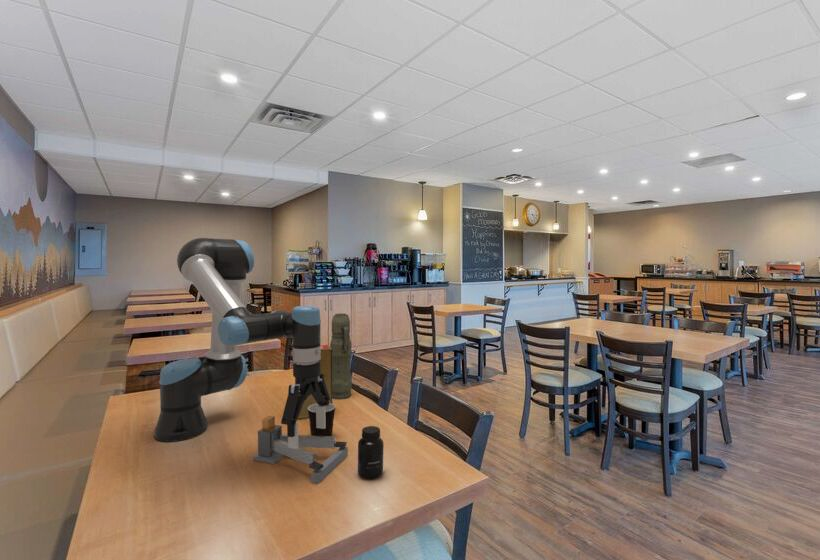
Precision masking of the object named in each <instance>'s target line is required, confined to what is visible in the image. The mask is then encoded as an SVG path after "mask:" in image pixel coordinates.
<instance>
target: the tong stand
mask: <svg viewBox="0 0 820 560" xmlns="http://www.w3.org/2000/svg"><path fill="white" fill-rule="evenodd" d="M271 438H272V456H271V457H267V456H262V455H258V453H256V454H254V455H253V457H252V459H253V461H255V462H256V461H257V462H260V463H261V462H262V463H267V464H271V465H274V464H277V463H278V462H279V461H280V460H281V459H283V458H285V455H283V454H280V453H278V452H275V451H273V434H272V435H271ZM348 448H349V447H348V446H346V447H345V448H339V447H338V449H336V451H334V452H333V453H332V454H331V455H330V456H329V457H327V459H325V460H324V461H323V462H321V464H323V468H322V469H320V470H318V471H317V470H314V469H313V471H312V472H311V474H310V475H311V479H310V480H311V483H312V484H317V485H318V484H320V482H322V481H324V479H325V478H326V477H327V476H328V475H329V474H330V473H332V471H333V470H334V469H335V468H336V467H338V466H339V464H340V463H342V462H343V460H344V459H346V457H348V456H349V451H348V450H349V449H348Z"/></svg>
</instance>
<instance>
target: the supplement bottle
mask: <svg viewBox="0 0 820 560" xmlns="http://www.w3.org/2000/svg"><path fill="white" fill-rule="evenodd" d="M384 445H385V444H384V440H383V439H382V438H381V428H380V427H378V426H375V425H368V426H365V427H363V428H362V429H361V438H360V439H358V443H357V474H358V476H359V477H360V478H362V479H364V480H375V479H378V478H380V477H381V476H382V475H383V472H384Z"/></svg>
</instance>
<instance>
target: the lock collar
mask: <svg viewBox="0 0 820 560" xmlns="http://www.w3.org/2000/svg"><path fill="white" fill-rule="evenodd" d="M261 427H262V428H261V429H258V431H257V454H258V455H262V456H267V457H271V456H272V438H271V435H272V434H273V440H274V439H279V440H280V436H281V435H282V434H283V432H282V431H283V430H282V425H279V424H276V417H275V416H274V415H268V416H266V417H263V418H262V419H261Z"/></svg>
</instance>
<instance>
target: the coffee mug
mask: <svg viewBox="0 0 820 560" xmlns="http://www.w3.org/2000/svg"><path fill="white" fill-rule="evenodd" d="M317 405H318V403H317V404H313V405H311V406H309V407H308V414H309V418H308V420H309V428H310V431H309V432H310V435H312V436H333V430H334V421H335V413H336V405H335V404H334V403H332V404H331V403H329V405H328V406H327V405H325V408H326V411H325V412H326V414H325V415H326V428H325V429H321V428H316V406H317Z"/></svg>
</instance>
